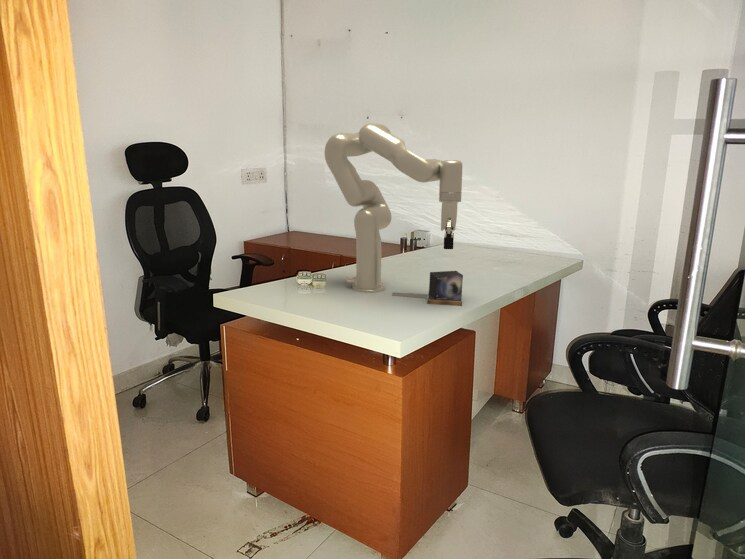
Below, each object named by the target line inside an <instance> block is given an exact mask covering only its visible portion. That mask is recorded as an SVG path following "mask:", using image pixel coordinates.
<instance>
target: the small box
mask: <svg viewBox="0 0 745 559" xmlns="http://www.w3.org/2000/svg"><path fill="white" fill-rule="evenodd" d="M463 278H464V275H463V274H462V273H460V272H458V270H447V271H446V270H445V271H431V272H429V287H428V296H427V299H431V300H449V301H462V296H463V294H462V292H463Z"/></svg>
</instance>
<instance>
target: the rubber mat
mask: <svg viewBox="0 0 745 559" xmlns="http://www.w3.org/2000/svg"><path fill="white" fill-rule="evenodd" d="M428 296H429V293H410V292H392V294H391V297H401V298H402V297H403V298H414V299H421V300H422V299H425V300H428Z"/></svg>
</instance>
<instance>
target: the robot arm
mask: <svg viewBox="0 0 745 559" xmlns="http://www.w3.org/2000/svg"><path fill="white" fill-rule="evenodd" d="M372 152H373V153H375V154H377V155H378V156H381V157H382V158H384V159H385V160H386V161H388V162H390V163H391V164H392V165H393V166H394V168H396V169H397V170H398V171H399V172H401V173H402V174H404V175H406V176H407V177H408V178H411V179H412V180H414V181H416V182H418V183H429V182H430V183H431V182H435V181H439V189H438V190H439V193H438V195H439V196H438V202H440V203H441V210H440V211H441V214H440V231H441V232H443V231H444V238H443V249H444V250H453V249H454V241H455V240H454V239H455V238H454V232H455V230H456V227H457V219H458V218H457V217H458V203H460V202H462V188H463V184H462V183H463V162H462V161H461V160H458V159H448V160H447V159H445V160H440V159H435V158H434V159H433V158H432V159H430V158H429V159H428V158H427V159H425V158H422V157H420V156H418V155H417V154H415V153H413V152H412V151H410V150H409V149H408V148H407V147H406V144H405V140H403V139H401V138H400V137H398V136H396V135H395V134H393V133H391V130H390V129H389V128H388V126H386V125H384V124H380V123H367V124H364V125H363V126H362V127H361V128H360V129H359V132H355V133H350V132H349V133H348V132H341V133H340V132H339V133H335V134H333V135H331V136H330V137H329V138H328V140H327V141H326V144H325V146H324V158H325V159H324V160H325V162H326V164H327V167H328V169H329V170H330V173H331V174H332V175H333V177H334V180H335V181H336V183H337V186H338V187H339V189H340V191H341V194H342V195H343V197H344V199H345V202H347V204H348V205H349V206H351V207H354V208H358V207H362V208H361V209H359V210H358V211H357V212H356V213H355V216H354V220H353V224H354V231H355V240H356V241H355V242H356V243H355V244H356V245H355V246H356V247H355V248H356V253H355V254H356V258H355V259H356V265H355V266H356V274H355V276H353V277H349V276H348V277H347V276H346V277H345V282H346V283H347V284H352V286H351V287H352V288H351V289H352V290H353V291H355V292H359V293H368V294H369V293H370V294H372V293H381V292H383V291H384V290H385V289H386V286H385V285H384V284H383V283H382V238H381V235H380V234H381V233H380V231H381V230H383V229H385V228H387V227H388V226H389V225H390V224H391V221H392V212H391V210H390V208H389V206H388V203H387V201H386V199H385V198H384V196H383V194H382V192H381V190H380V188H379V187H378V185H377V184H376V183H375V182H374V181H372V180H368V179H362V178H361V177H360V175H359V173H358V171H357V169H356V167H355V166H354V165H353V163H352V162H351V161H350V160H349V159H348V157H359V156H362V155H367V154H368V153H372Z"/></svg>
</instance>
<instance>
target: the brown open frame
mask: <svg viewBox="0 0 745 559" xmlns="http://www.w3.org/2000/svg"><path fill="white" fill-rule="evenodd" d="M426 300H427V301H426V304H427V305H442V306H458V307H462V306H463V300H461V301H449V300H431V299H429V298H427V299H426Z"/></svg>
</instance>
